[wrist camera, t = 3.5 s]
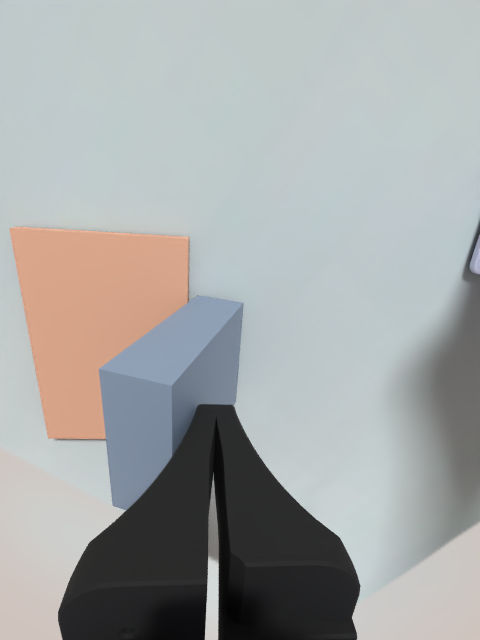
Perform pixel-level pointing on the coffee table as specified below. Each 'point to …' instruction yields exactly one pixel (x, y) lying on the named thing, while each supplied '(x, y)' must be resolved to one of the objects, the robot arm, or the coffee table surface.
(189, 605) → the robot arm
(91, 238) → the mat
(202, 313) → the slab
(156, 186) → the coffee table surface
